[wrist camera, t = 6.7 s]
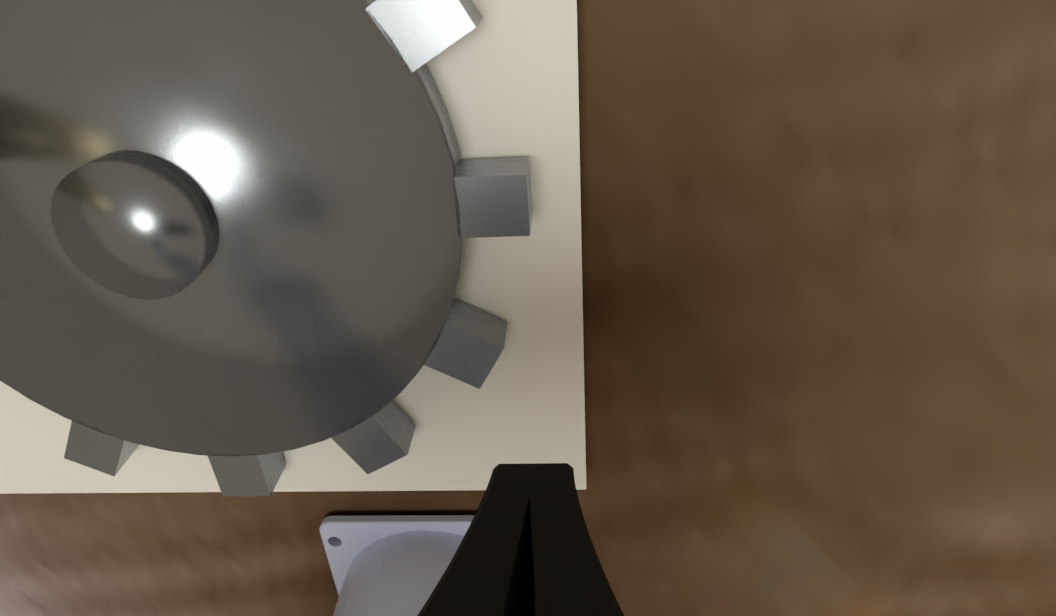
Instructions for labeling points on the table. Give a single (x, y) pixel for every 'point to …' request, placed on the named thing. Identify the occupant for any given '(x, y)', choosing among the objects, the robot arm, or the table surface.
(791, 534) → the table surface
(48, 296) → the sprocket
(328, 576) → the table surface
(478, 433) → the base board
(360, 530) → the robot arm
